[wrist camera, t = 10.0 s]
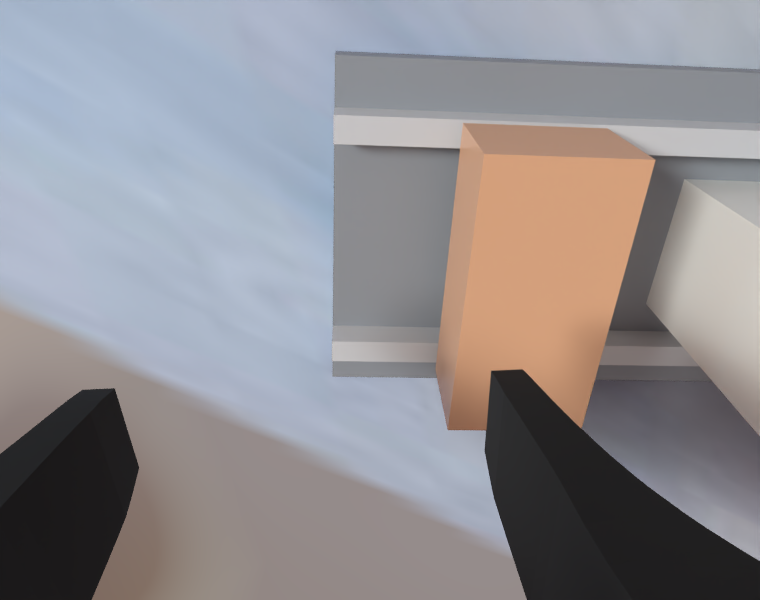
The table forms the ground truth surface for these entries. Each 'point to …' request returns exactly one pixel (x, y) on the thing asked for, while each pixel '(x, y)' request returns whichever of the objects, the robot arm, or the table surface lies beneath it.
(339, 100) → the rail holder
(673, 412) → the table surface
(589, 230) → the peach block
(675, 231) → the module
